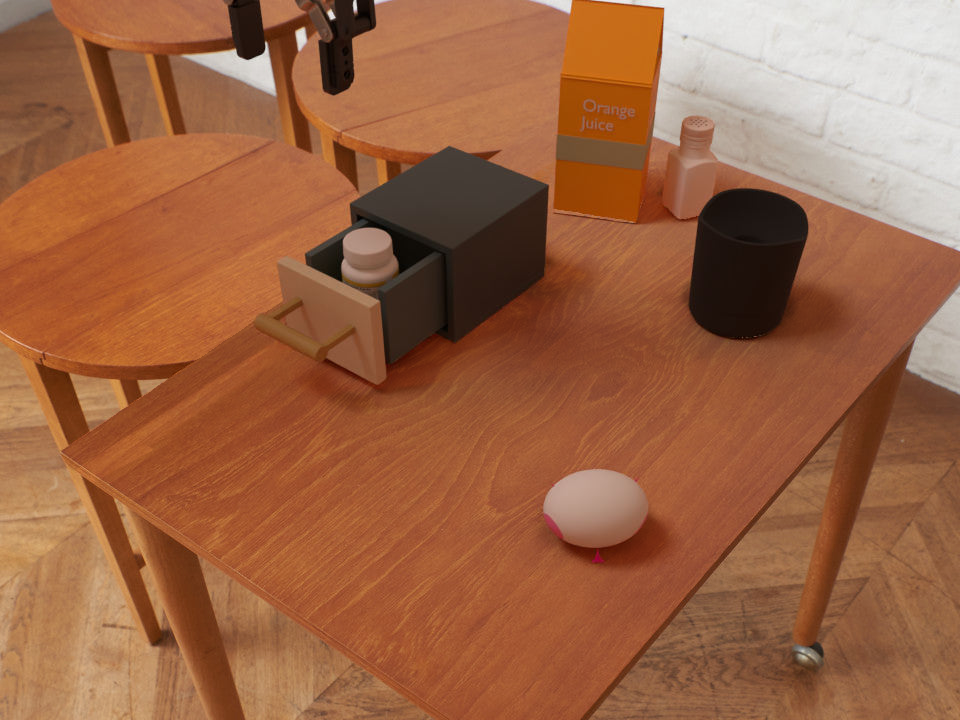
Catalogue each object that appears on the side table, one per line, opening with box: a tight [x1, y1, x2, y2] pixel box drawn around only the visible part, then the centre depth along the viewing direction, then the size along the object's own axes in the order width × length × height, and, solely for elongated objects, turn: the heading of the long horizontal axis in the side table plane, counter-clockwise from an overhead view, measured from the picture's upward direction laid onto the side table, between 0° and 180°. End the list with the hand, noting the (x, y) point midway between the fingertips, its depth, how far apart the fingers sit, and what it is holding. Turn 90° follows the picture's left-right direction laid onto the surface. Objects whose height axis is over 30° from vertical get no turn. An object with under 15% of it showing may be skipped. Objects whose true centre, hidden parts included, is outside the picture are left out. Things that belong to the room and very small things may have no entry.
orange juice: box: [553, 0, 665, 222], centre depth 103 cm, size 8×9×20 cm
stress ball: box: [542, 468, 649, 564], centre depth 76 cm, size 8×8×7 cm
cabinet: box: [349, 145, 550, 344], centre depth 96 cm, size 14×12×10 cm
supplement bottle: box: [341, 228, 399, 300], centre depth 88 cm, size 5×5×8 cm
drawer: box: [253, 218, 448, 386], centre depth 89 cm, size 17×10×8 cm, turn 143°
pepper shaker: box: [661, 115, 719, 220], centre depth 106 cm, size 4×4×10 cm
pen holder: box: [688, 187, 810, 339], centre depth 93 cm, size 9×9×10 cm
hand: (294, 73), depth 75 cm, fingers open, 8 cm apart
